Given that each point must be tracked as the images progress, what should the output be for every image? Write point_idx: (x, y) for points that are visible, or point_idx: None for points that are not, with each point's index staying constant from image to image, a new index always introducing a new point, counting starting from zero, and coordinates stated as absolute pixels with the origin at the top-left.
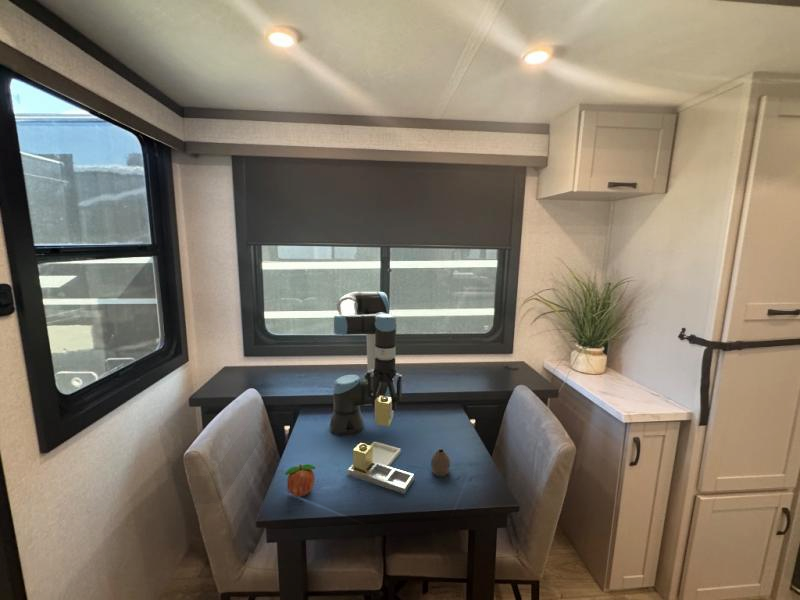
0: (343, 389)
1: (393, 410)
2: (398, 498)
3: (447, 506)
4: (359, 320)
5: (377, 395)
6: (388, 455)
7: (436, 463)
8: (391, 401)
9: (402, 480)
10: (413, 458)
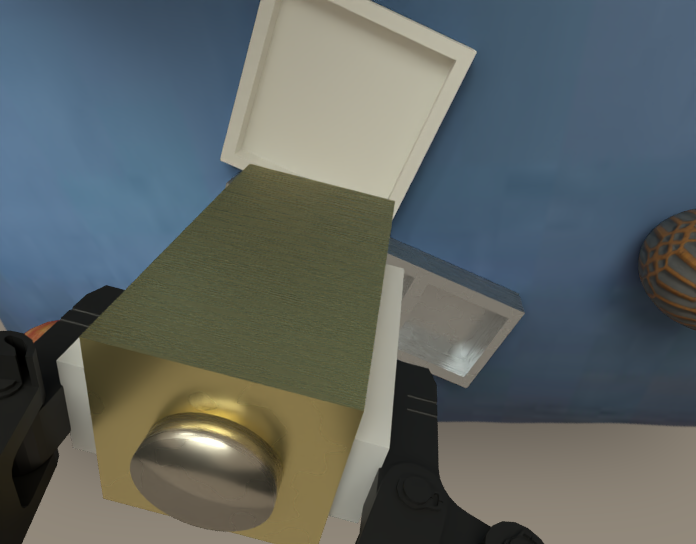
0: None
1: (399, 313)
2: (440, 378)
3: (628, 419)
4: None
5: (28, 368)
6: (390, 100)
7: (679, 322)
8: (350, 490)
9: (463, 302)
10: (553, 107)
